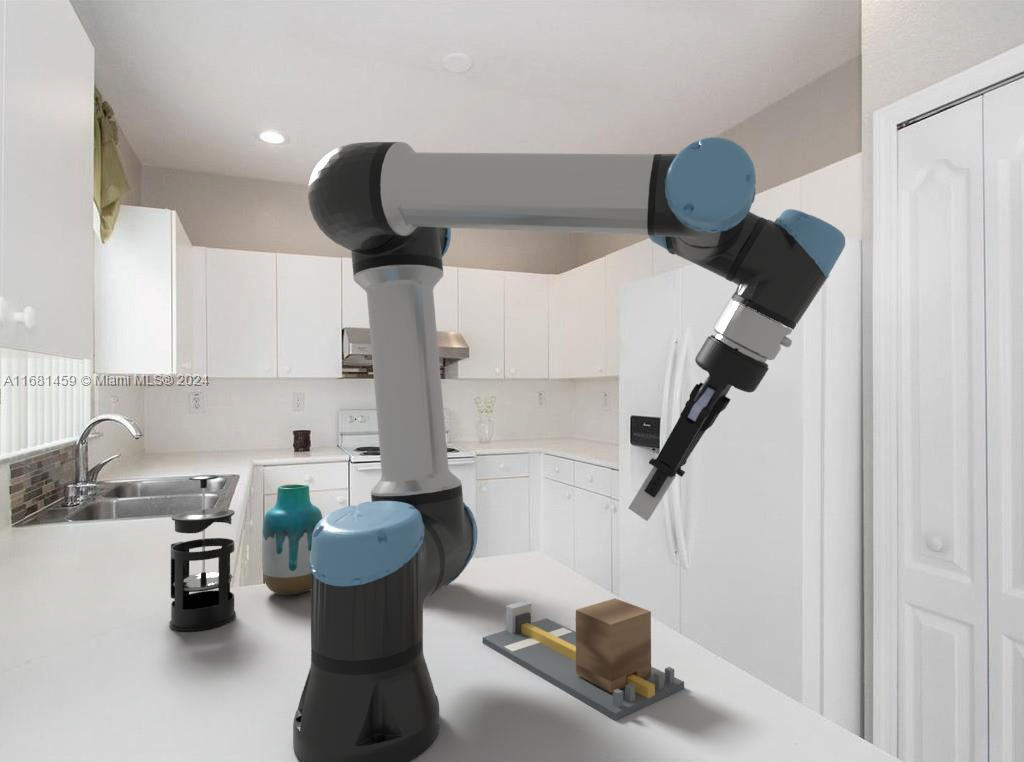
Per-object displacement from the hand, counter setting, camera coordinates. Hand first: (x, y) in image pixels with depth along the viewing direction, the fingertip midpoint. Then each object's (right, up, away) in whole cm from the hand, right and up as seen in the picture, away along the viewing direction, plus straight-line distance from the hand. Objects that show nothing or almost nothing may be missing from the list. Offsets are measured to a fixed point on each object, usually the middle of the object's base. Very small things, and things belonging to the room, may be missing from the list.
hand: (639, 512), depth 76 cm
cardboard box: (-3, -20, -1) cm, 20 cm away
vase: (-55, -22, +34) cm, 69 cm away
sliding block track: (-7, -21, +5) cm, 23 cm away
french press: (-65, -22, +21) cm, 72 cm away
